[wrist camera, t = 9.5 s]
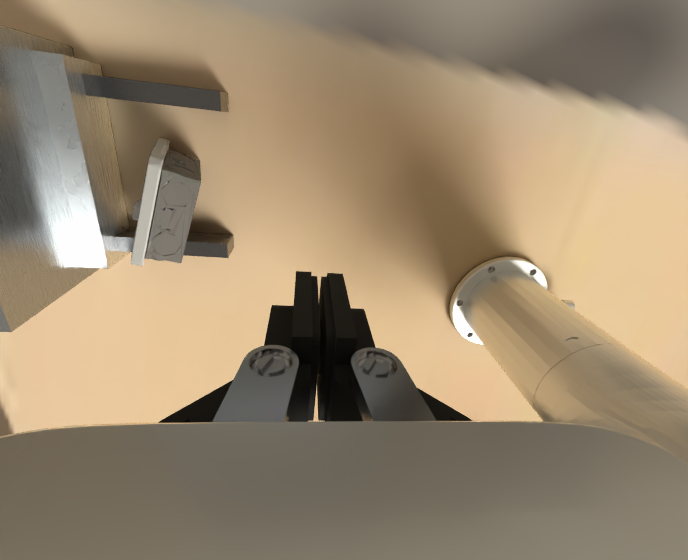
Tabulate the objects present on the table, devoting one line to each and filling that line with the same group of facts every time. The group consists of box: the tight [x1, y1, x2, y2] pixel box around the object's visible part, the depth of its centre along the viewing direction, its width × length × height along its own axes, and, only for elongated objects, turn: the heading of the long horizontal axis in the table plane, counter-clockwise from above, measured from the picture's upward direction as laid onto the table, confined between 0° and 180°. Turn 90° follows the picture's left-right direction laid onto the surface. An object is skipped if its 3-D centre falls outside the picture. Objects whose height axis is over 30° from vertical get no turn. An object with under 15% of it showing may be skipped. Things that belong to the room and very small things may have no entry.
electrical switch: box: [131, 138, 201, 266], centre depth 30 cm, size 9×5×9 cm, turn 157°
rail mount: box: [0, 25, 234, 332], centre depth 26 cm, size 14×19×14 cm
